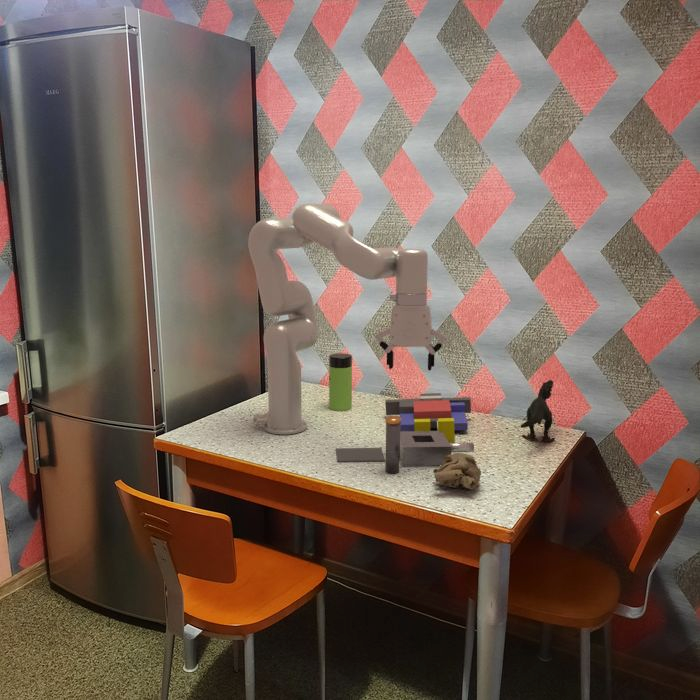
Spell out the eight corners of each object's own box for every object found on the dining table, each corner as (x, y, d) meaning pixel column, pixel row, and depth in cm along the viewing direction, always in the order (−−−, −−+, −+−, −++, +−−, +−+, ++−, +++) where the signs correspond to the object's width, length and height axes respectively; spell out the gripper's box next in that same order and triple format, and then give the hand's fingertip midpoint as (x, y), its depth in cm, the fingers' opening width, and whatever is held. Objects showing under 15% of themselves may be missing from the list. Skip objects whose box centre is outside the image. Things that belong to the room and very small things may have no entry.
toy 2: (562, 430, 186) (566, 380, 183) (540, 461, 162) (544, 404, 159) (531, 425, 190) (534, 376, 187) (505, 455, 166) (508, 399, 163)
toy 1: (382, 423, 174) (385, 386, 203) (384, 451, 176) (387, 411, 205) (478, 420, 171) (467, 383, 200) (478, 449, 174) (468, 409, 203)
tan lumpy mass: (449, 437, 154) (424, 464, 141) (493, 449, 149) (471, 478, 136) (447, 464, 156) (422, 493, 144) (490, 477, 151) (468, 508, 139)
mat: (337, 462, 160) (337, 460, 160) (335, 449, 169) (336, 448, 169) (385, 461, 161) (385, 460, 161) (381, 449, 170) (381, 447, 170)
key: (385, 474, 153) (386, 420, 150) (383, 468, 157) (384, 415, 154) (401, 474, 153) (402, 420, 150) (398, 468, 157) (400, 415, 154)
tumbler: (336, 412, 202) (336, 359, 198) (324, 406, 208) (324, 354, 205) (355, 409, 206) (356, 356, 202) (343, 403, 212) (344, 352, 209)
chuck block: (402, 466, 158) (403, 447, 157) (396, 449, 170) (396, 431, 169) (478, 465, 159) (479, 446, 158) (466, 448, 171) (467, 430, 170)
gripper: (373, 301, 154) (373, 370, 158) (446, 302, 151) (444, 373, 154) (378, 297, 161) (378, 364, 165) (447, 299, 158) (446, 366, 161)
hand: (410, 368), depth 159 cm, fingers open, 9 cm apart
